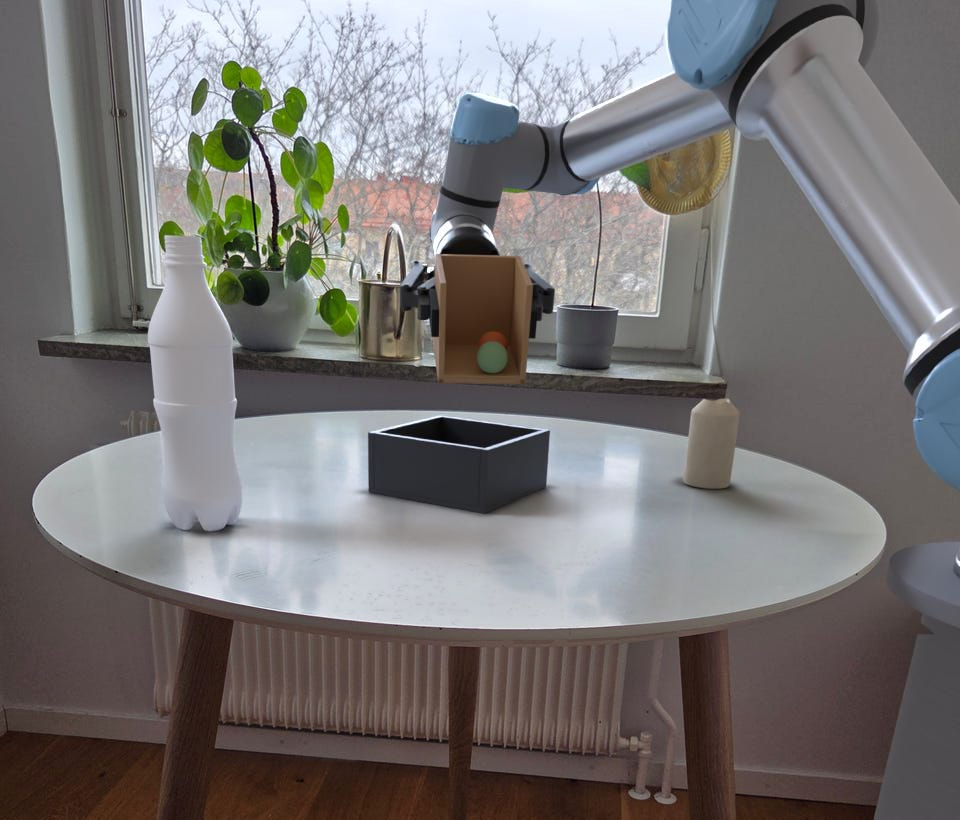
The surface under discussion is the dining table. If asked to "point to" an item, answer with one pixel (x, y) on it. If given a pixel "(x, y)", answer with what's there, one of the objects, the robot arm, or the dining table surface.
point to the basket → (458, 462)
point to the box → (481, 315)
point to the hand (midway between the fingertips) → (484, 324)
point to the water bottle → (194, 393)
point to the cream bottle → (711, 444)
